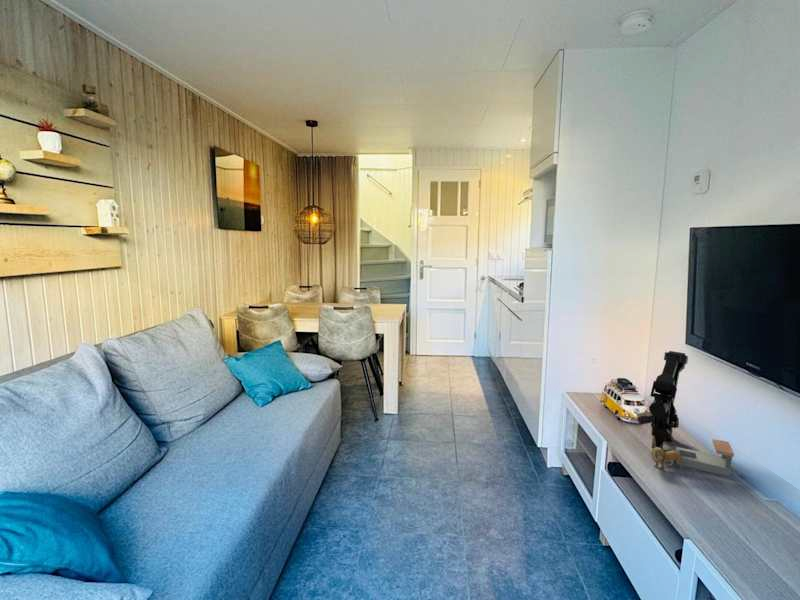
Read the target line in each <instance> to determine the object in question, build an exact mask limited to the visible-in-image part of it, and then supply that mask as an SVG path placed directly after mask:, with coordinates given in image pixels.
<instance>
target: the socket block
mask: <svg viewBox="0 0 800 600" xmlns="http://www.w3.org/2000/svg"><path fill="white" fill-rule="evenodd" d="M674 451H677V452H679V453H680V454H681V457H682V463H683V467H687V468H691V469H695V470H699V471H704V472H708V473H712V474H717V475H721V476H725V477H730V478H731V475H732V468H726V467H725V463H726V459H723V458H722V457H721V456H722V455H716V454H711V453H707V452H703V451H697V450H693V449H688V448H684V447H680V446H674ZM674 462H675V465H678V466H681V465H680V464H679V463H677V461H676V460H675V459H674Z"/></svg>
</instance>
